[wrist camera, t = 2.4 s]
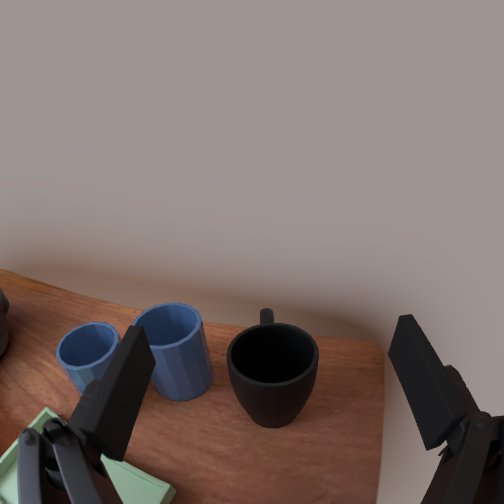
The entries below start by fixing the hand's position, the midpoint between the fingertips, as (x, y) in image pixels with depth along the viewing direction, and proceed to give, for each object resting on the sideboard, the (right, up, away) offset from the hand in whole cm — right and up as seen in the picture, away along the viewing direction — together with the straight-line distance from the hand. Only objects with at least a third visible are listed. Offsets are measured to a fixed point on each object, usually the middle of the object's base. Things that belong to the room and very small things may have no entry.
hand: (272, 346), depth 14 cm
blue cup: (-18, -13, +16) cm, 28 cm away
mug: (+1, -12, +16) cm, 20 cm away
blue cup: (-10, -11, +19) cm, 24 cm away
